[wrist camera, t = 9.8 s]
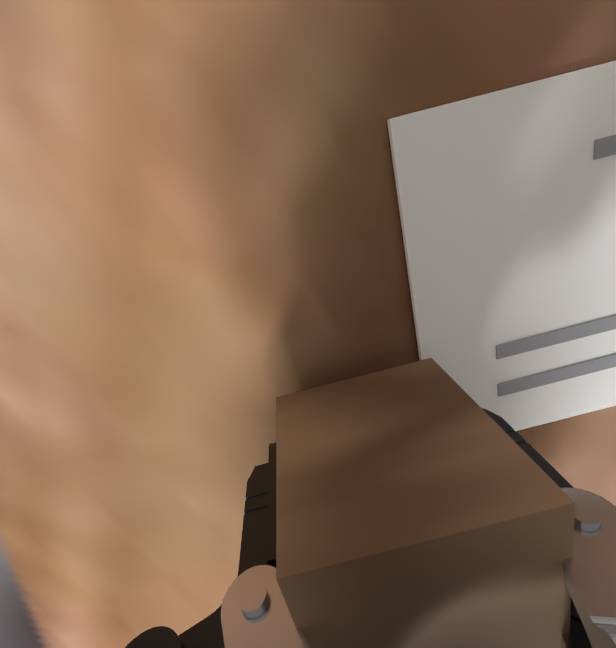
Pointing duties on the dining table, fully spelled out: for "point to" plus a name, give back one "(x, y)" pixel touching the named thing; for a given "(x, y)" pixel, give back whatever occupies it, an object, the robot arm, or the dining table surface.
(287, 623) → the robot arm
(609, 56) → the dining table surface
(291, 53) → the dining table surface
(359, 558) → the walnut block
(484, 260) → the letter
